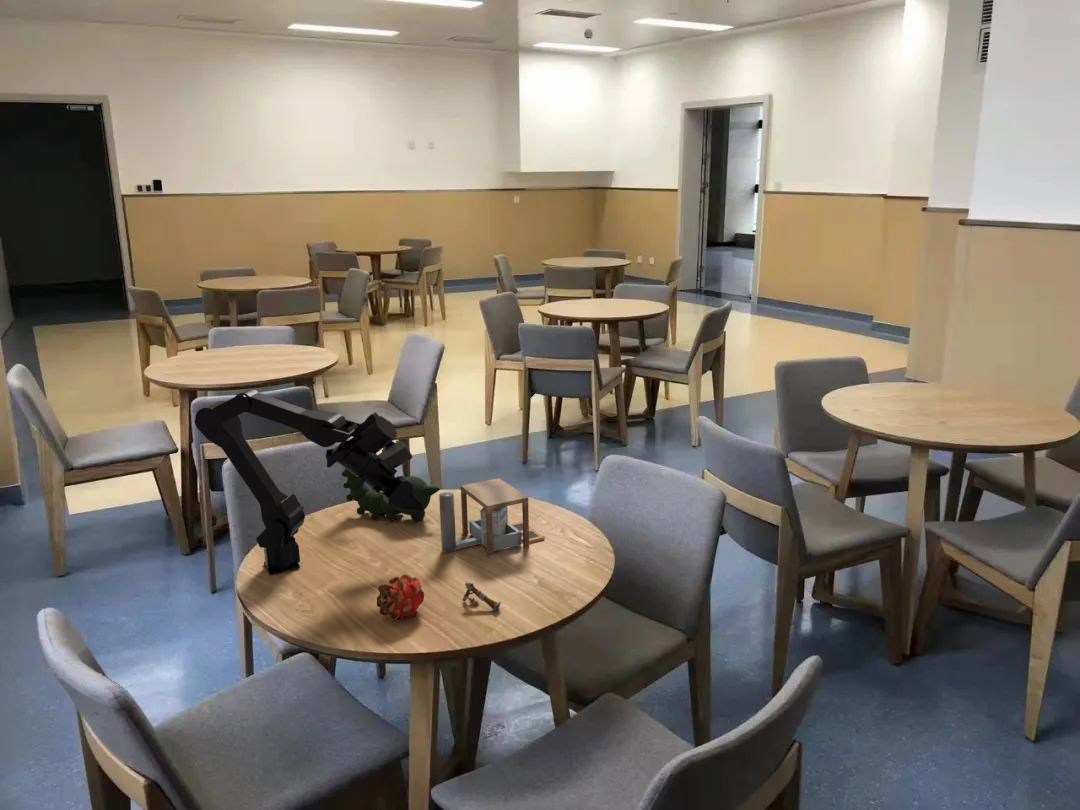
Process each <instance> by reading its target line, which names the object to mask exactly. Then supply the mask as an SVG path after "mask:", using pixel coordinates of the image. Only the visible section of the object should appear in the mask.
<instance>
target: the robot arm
mask: <svg viewBox="0 0 1080 810" xmlns="http://www.w3.org/2000/svg"><path fill="white" fill-rule="evenodd" d="M243 413H248V414H252V415H253V416H257V417H259V418H262V419H265V420H268V421H271V422H274V423H275V424H276V423H277V424H279V425H282V426H284V427H287V428H291V429H293V430H296V431H298V432H299V433H301V434H302V435H303V437H305V439H306V440H309V441H310V442H313V443H314V444H316V445H317V446H320V447H322V448H329V447H331V446H334V445H335V444H336V443H337V444H338V445H337V446H335V447H334V448H330V449H326V451H325V458H326V467H327V469H329V468H331V467H333V465H335V464H336V463H337V464H339V465H340V466H341V465H342V466H341V467H343V468H344V469H345V468H346V469H347V470H349V471H350V472H351V473H353V474H354V475H355V476H357V477H358V478H359V479H360V480H361V481H362V482H364V484H365V485H368V486H369V487H371V488H372V490H374V492H377V493H379V492H384V493H383V500H384V501H385V502H386V503H387V504H388V505H390V506H391V507H392V508H394V509H398V508H399V509H407V510H414V511H420V512H422V511H423V510H424V506H423V505H422V504H421V503H420V501H419V500H418V499H417V498H416V497H415V495H414V494H413V490H414V485H413V484H412V483H411V482H410V481H409V480H407V479H406V478H405V477H406V476H404V475H398V476H396V473H397V472H398V470H397V469H396V468H398V467H399V466H401V465H403V464H404V463H406V462H409V461H411V460H412V459H413V458H414V457H413V454H412V453H411V451H410V449H409V448H408V446H407V443H404V442H403V441H402V440H398V439H396V438H397V437H398V436H397V435H398V432H397V429H396V428H395V426H394V425H393V423H392V422H391V420H388V419H387V418H385V417H384V416H381V415H379V414H378V413H377V412H376V411H374V412H373V413H371V414H370V415H369V416H367V417H366V419H365V420H364V421H362V422H357V421H354V420H350V419H348V418H346V417H345V416H344V415H343V414H341V413H338V412H335V411H333V412H332V411H328V410H311V409H307V408H304V407H300V406H297V405H294V404H291V403H289V402H286V401H283V400H280V399H278V398H275V397H272V396H269V395H267V394H264V393H262V392H259V391H258V390H256V389H252V388H248V389H246V390H243V391H242V392H239V393H237V394H236V395H235V396H234V397H232V398H230V399H228V400H226V401H225V400H218V401H215V402H213V403H210V404H209V405H207V406H204V407H202V408H200V409H198V411H197V412H196V414H195V417H194V420H193V421H194V424H195V427H196V429H197V430H198V431H199V432H200V433H201V434H202V436H203V437H204V438H205V439H206V440H207V441H209V442H210V443H212V444H214V445H215V446H217V447H219V448H220V449H221V450H222V452H224V454H225V456H226V457H227V458H228V460H229V461H230V463H231V465H233V467H234V469H235V470H236V473H238V475H240V477H241V479H242V480H243V482H244V483H245V485H246V487H247V488H248V489H249V491H250V492H251V494H252V495H253V497H254V498H255V499H256V501H257V503H258V505H259V507H260V508H259V509H260V510H259V511H260V518H261V521H262V523H263V525H264V527H265V529H264V530H262V532H261V533H260V534H259V535H258V536H257V537H256V538H255V540H256V542H257V544H258V546H259V548H260V549H263V553H264V554H263V555H264V562H263V566H264V567H265V569H266V571H267V573H268V575H270V576H271V575H275V574H279V573H284V572H289V571H294V570H297V569H301V565H300V562H301V558H300V556H301V555H300V547H299V544H298V541H296V537H295V535H296V534H297V533H299V530H300V528H301V527H302V526H303V525H304V523H305V518H306V515H305V512H304V509H305V507H304V506H303V505H302V504H301V503H300V502H299V500H298V498H297V496H296V495H295V493H291V494H290V495H287V494H285V493H283V492H281V490H280V489H279V487H277V485H276V484H275V482H274V480H273V479H272V477H271V476H270V474H269V473H268V471H267V470H266V469H265V467H264V465H263V464H262V463H261V461H260V459H259V457H257V455H256V454H255V452H254V450H253V449H252V447H251V446H250V444H249V443H248V441H247V440H246V438H245V437H244V435H243V429H242V421H241V419H240V417H239V415H242V414H243ZM351 437H352V438H351ZM395 439H396V440H395ZM394 440H395V441H394ZM380 451H381V452H380ZM379 452H380V453H379ZM377 453H379V454H377ZM424 511H425V510H424Z"/></svg>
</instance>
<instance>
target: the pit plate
mask: <svg viewBox="0 0 1080 810" xmlns="http://www.w3.org/2000/svg"><path fill="white" fill-rule="evenodd" d="M510 524H511V525H513V526H514V527H515V528H517V529H518V530H519V531H520V532H521V537H522V543H523V520H522V521H518V522H512V523H510ZM543 539H544V540H545V536H543V535H542V534H541V533H539V532H538V531H536V530H535V529H534V528H533V527H531V526H530V525H529V544H533V543H536V542H535V541H537V542H540V540H541V541H544V540H543Z"/></svg>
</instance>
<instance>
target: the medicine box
mask: <svg viewBox="0 0 1080 810" xmlns="http://www.w3.org/2000/svg"><path fill="white" fill-rule="evenodd" d="M480 519H481V536H482V543H481V545H482V546H484V540H483V533H486V509H485V508H484V507H483V506H482V508H481V510H480ZM507 522H509V515H508V506H506V507H501V508H496V509H492V532H493V537H496V536H500V535H504V534H507V533H506V523H507Z"/></svg>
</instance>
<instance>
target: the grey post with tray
mask: <svg viewBox="0 0 1080 810" xmlns="http://www.w3.org/2000/svg"><path fill="white" fill-rule="evenodd" d="M438 496H439V497H438V498H439V499H438V500H439V501H438V502H439V518H440V541H441V551H442V552H444V553H453V552H455V551H457V550H458V549H462V548H467V547H472V546H476V545H480V544H481V545H482V536H481V518H477V519H473V520H472V519H471V520H469V521H468V531H469V534H470V535H471V536H472V537H471V538H467V539H462V540H459V541H456V540H457V538H456V536H457V535H456V518H455V515H456V514H455V497H454V496H455V495H454V493H452V492H447V491H445V492H441V493H440V494H439V495H438ZM511 524H512V523H510V522H509V521H508V522H507V523H506V533H507V534H504V535H500V536H496V537H493V552H495V551H500V550H504V549H508V548H513V547H516V546H521V545H522V544H523V542H522V537H521V532H520V531H519V530H518V529H517V528H515V527H514V526H513V525H511ZM483 540H484V545H483V546H484V547H486V548H487V533H483Z"/></svg>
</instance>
